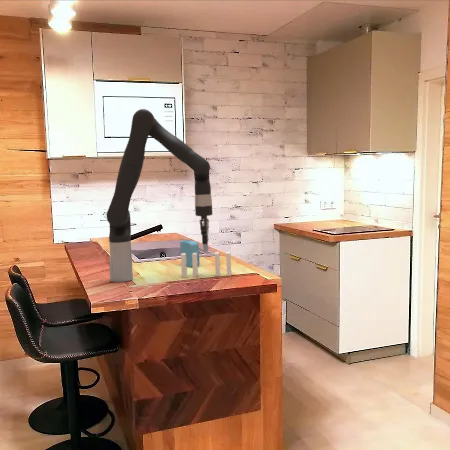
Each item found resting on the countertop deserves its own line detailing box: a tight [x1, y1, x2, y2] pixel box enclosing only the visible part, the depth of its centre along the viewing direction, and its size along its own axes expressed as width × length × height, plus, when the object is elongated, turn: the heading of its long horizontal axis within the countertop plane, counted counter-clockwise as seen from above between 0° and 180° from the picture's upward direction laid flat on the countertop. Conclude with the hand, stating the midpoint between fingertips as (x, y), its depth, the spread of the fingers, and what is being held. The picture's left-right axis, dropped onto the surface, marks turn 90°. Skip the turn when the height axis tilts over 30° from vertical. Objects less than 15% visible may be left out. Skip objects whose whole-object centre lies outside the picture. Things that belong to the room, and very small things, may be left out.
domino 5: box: [225, 251, 232, 277], centre depth 224 cm, size 2×5×10 cm, turn 178°
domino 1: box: [180, 253, 188, 278], centre depth 225 cm, size 2×5×10 cm, turn 178°
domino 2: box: [192, 253, 199, 278], centre depth 225 cm, size 2×5×10 cm, turn 178°
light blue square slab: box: [179, 240, 201, 268], centre depth 251 cm, size 12×4×12 cm, turn 30°
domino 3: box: [202, 230, 209, 252], centre depth 223 cm, size 2×5×10 cm, turn 178°
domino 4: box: [214, 251, 221, 277], centre depth 224 cm, size 2×5×10 cm, turn 178°
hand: (205, 242), depth 223 cm, fingers closed on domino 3, 5 cm apart
